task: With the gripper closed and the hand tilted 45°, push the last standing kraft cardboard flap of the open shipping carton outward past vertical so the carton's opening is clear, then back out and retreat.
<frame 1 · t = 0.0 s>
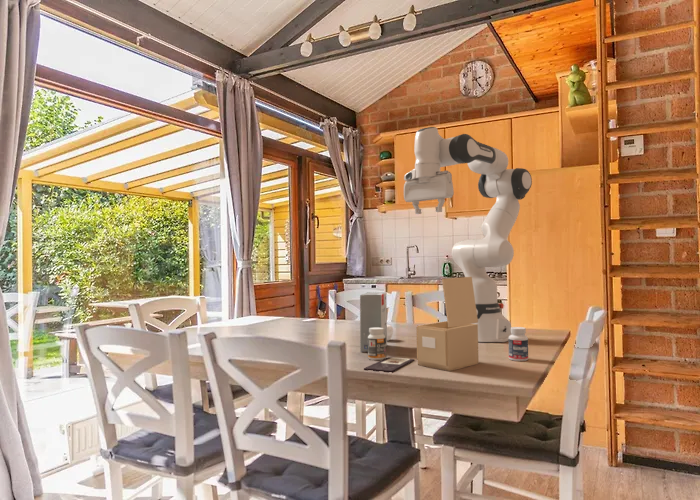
hand: (428, 213, 185), 48 cm above the table, tool pointing down, fingers open, 8 cm apart
flap: (460, 301, 157), point 20 cm above the table, hinge at -8.0°
pill bottle 2: (377, 359, 171), on the table
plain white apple: (384, 341, 207), on the table
chocolate bar: (390, 367, 161), on the table
hard drive box: (374, 349, 190), on the table
carton: (448, 364, 161), on the table
pill bottle: (518, 360, 166), on the table
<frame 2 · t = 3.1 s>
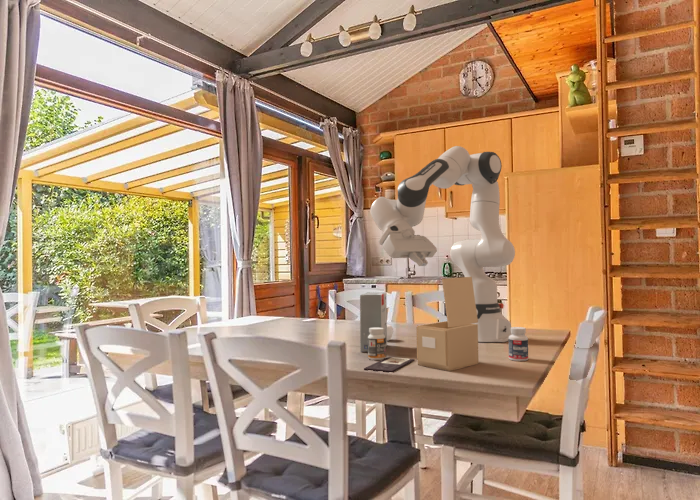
hand: (423, 264, 168), 30 cm above the table, tool tilted 45°, fingers closed
nothing on the table moved.
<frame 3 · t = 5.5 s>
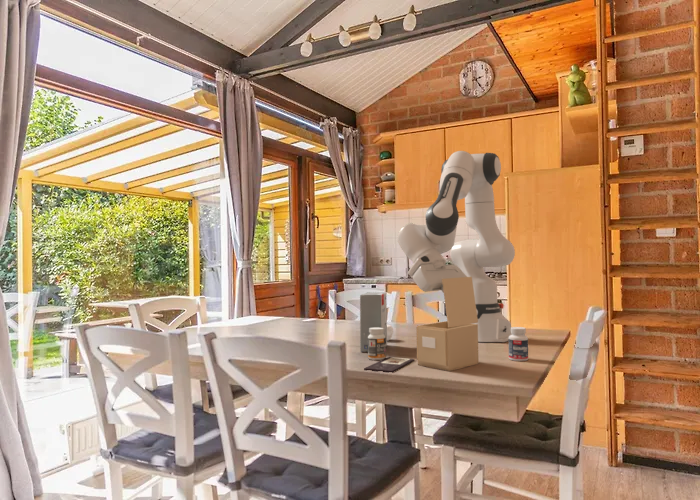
hand: (456, 298, 158), 20 cm above the table, tool tilted 45°, fingers closed, pressing on flap
flap: (460, 301, 157), point 20 cm above the table, hinge at -7.9°, touching gripper
everything else where it was.
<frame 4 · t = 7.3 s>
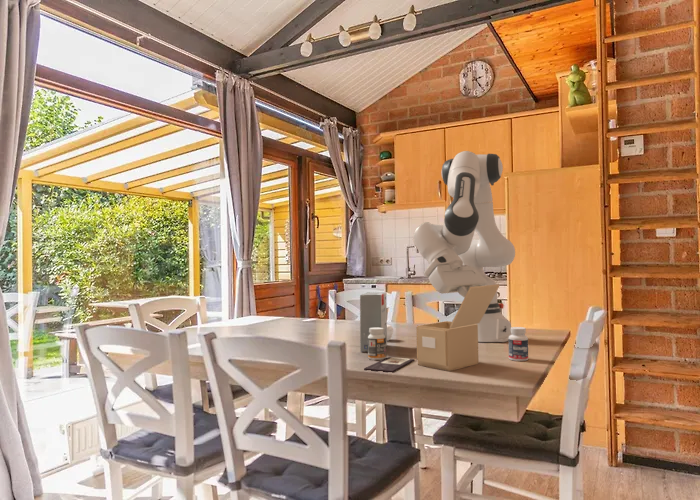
hand: (474, 300, 152), 20 cm above the table, tool tilted 45°, fingers closed, pressing on flap
flap: (474, 306, 153), point 18 cm above the table, hinge at 32.7°, touching gripper
everything else where it was.
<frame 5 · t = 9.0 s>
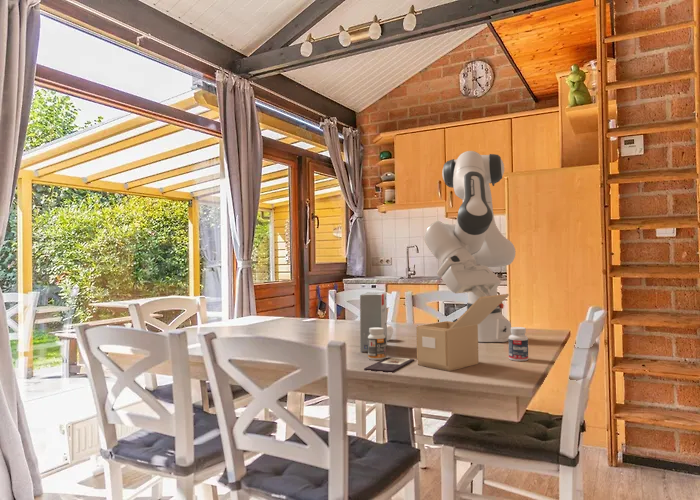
hand: (489, 300, 149), 20 cm above the table, tool tilted 45°, fingers closed, pressing on flap
flap: (479, 311, 152), point 17 cm above the table, hinge at 48.8°, touching gripper
everything else where it was.
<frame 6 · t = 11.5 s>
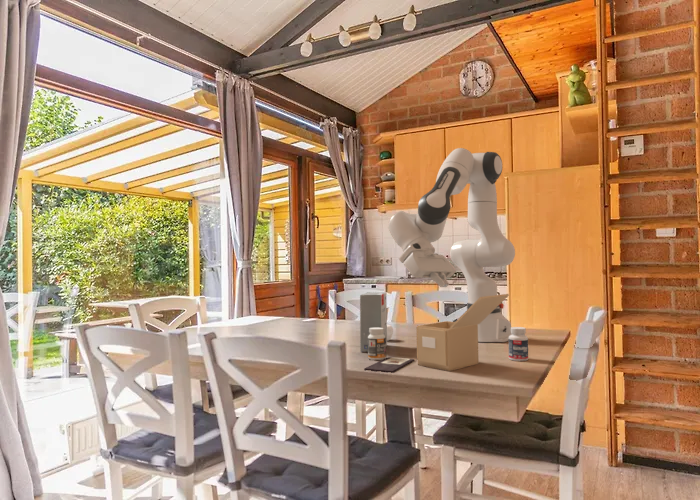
hand: (445, 285, 162), 24 cm above the table, tool tilted 40°, fingers closed
flap: (479, 311, 152), point 17 cm above the table, hinge at 48.8°
everything else where it was.
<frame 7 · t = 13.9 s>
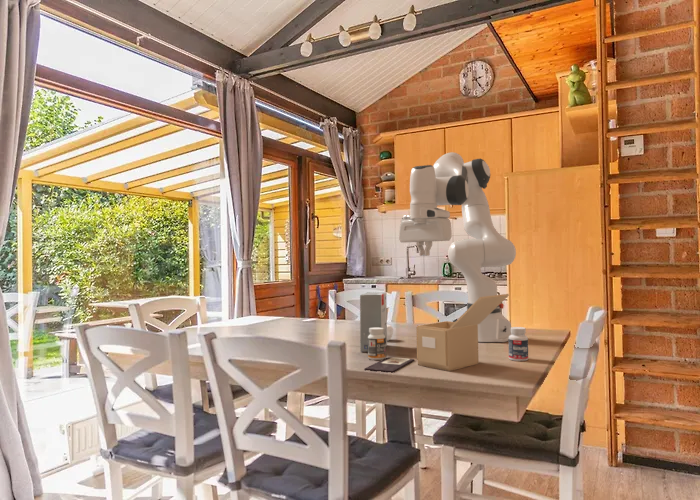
hand: (424, 255, 174), 33 cm above the table, tool pointing down, fingers closed
nothing on the table moved.
at the end: flap at +49° (first picture: -8°) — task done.
